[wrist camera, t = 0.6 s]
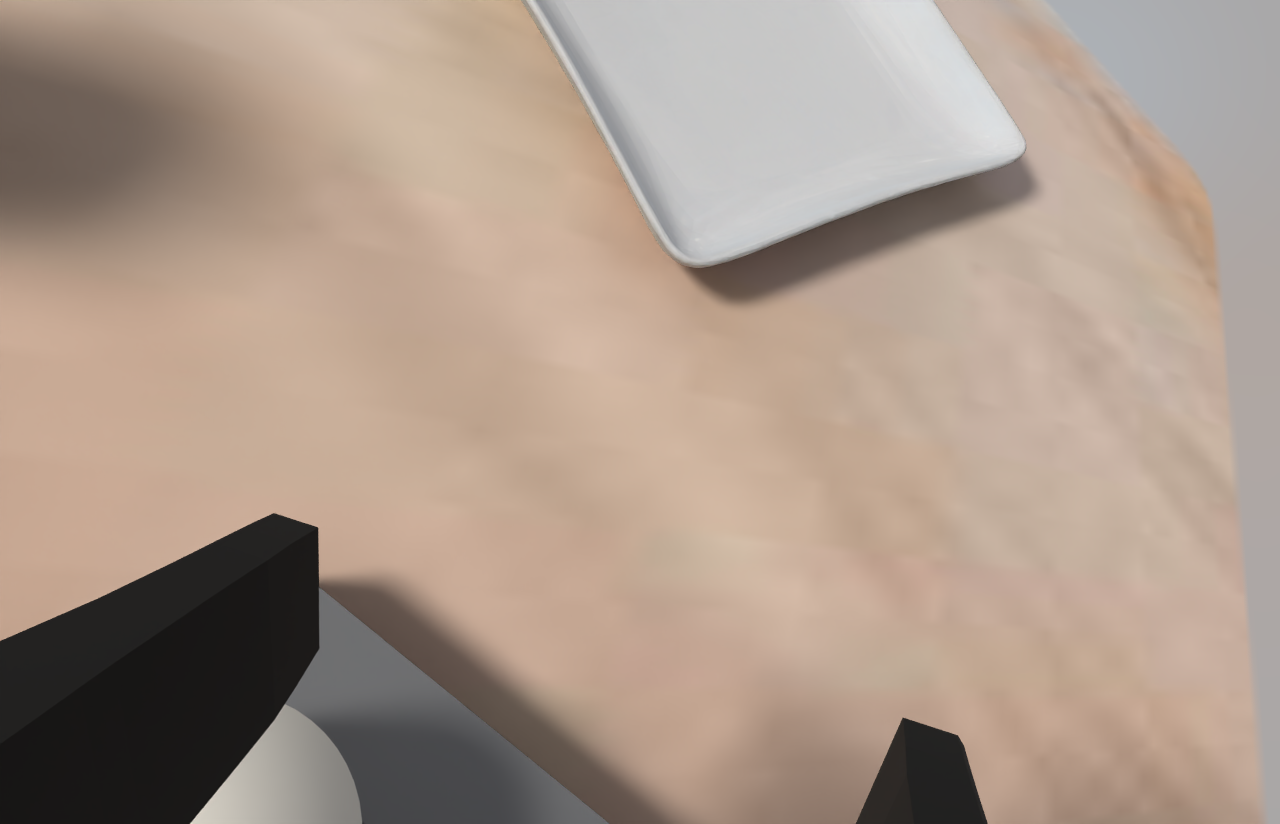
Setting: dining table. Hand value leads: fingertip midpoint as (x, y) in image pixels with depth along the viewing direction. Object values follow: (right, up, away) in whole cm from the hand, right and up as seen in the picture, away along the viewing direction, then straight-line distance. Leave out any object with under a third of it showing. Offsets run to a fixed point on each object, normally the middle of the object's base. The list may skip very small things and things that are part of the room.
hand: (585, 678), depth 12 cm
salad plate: (+4, +19, +32) cm, 38 cm away
